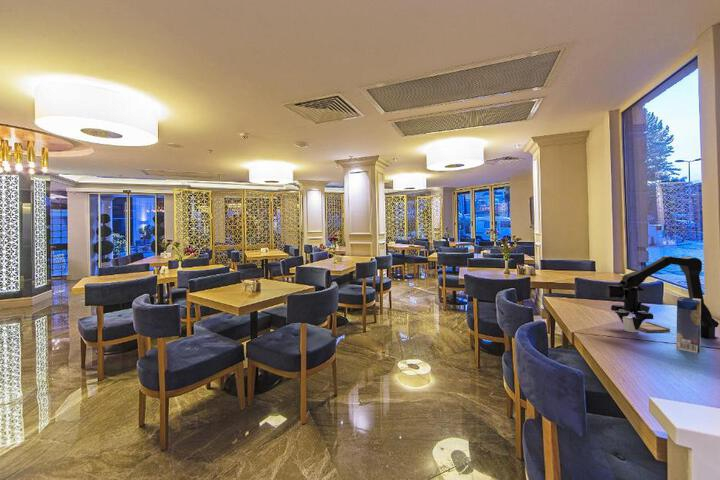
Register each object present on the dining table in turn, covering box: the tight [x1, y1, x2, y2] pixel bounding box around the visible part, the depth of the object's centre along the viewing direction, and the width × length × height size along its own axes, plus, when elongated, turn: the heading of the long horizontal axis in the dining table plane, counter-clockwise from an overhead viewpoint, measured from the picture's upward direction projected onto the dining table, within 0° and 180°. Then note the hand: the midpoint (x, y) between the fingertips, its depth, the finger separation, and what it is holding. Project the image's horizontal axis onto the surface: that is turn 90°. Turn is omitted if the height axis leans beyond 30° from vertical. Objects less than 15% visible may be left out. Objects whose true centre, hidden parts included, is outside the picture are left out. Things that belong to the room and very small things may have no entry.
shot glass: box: [622, 315, 639, 334], centre depth 160 cm, size 7×7×7 cm
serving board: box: [638, 321, 671, 333], centre depth 163 cm, size 12×12×2 cm
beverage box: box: [675, 296, 702, 354], centre depth 137 cm, size 7×11×22 cm, turn 130°
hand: (631, 327), depth 160 cm, fingers closed on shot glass, 6 cm apart
